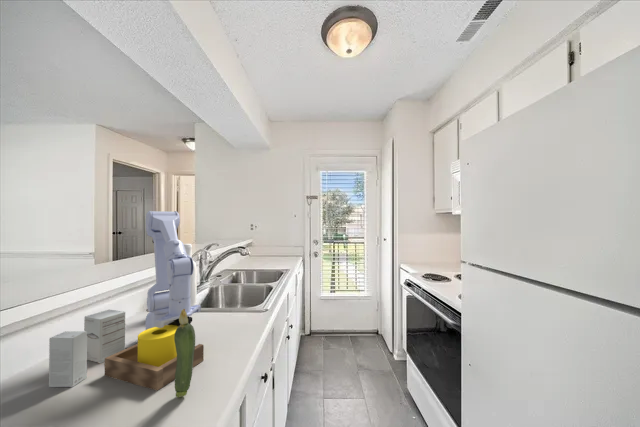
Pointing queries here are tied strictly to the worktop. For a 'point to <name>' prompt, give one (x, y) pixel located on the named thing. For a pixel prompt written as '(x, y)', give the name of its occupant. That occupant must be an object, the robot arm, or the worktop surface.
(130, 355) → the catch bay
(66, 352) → the skincare box
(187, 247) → the bottle
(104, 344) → the supplement box
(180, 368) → the vegetable
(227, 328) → the worktop surface
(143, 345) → the tape roll
